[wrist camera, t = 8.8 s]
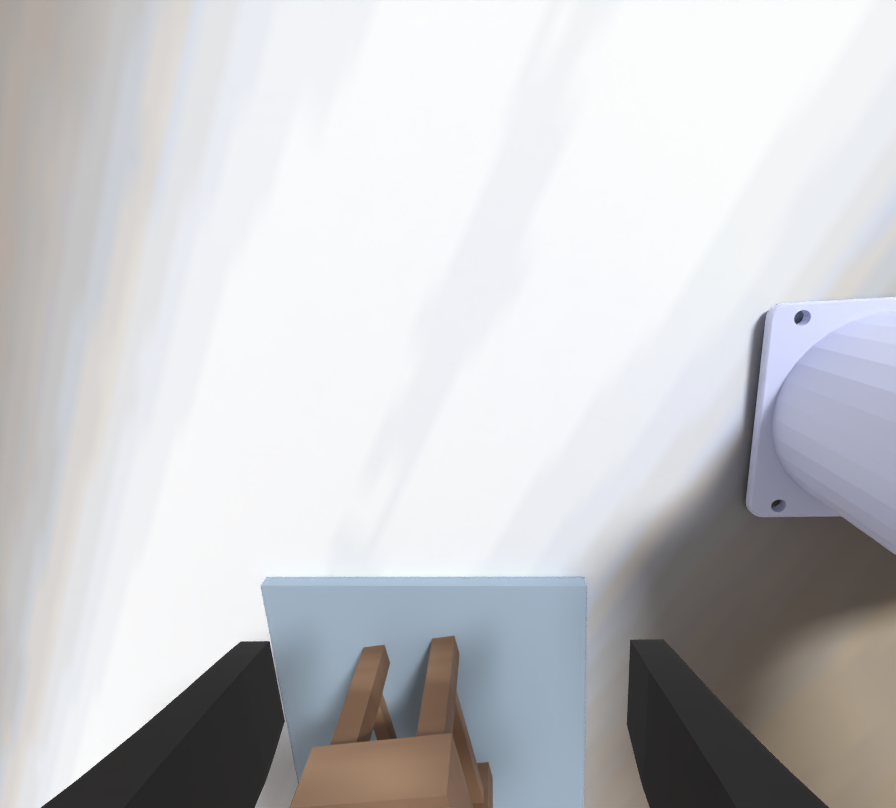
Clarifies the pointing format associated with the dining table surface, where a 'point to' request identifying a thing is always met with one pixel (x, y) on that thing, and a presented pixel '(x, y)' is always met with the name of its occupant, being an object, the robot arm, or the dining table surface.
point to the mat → (479, 672)
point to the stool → (398, 746)
